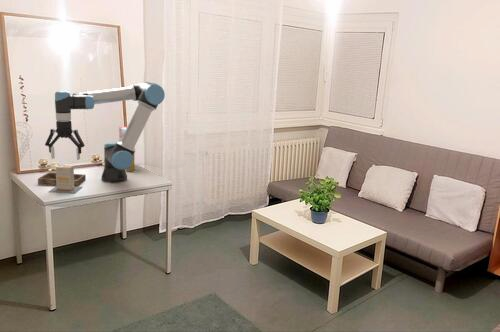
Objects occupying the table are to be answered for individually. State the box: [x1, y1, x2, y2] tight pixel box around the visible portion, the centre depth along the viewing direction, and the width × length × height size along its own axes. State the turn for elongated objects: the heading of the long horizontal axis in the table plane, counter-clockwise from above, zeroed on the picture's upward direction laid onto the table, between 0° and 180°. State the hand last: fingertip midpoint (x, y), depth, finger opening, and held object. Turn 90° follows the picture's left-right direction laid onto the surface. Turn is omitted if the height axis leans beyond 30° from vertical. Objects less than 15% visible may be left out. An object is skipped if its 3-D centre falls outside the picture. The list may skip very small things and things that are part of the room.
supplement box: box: [55, 164, 75, 191], centre depth 235 cm, size 8×5×13 cm, turn 85°
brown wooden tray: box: [37, 172, 87, 187], centre depth 250 cm, size 22×14×4 cm, turn 93°
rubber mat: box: [48, 185, 83, 195], centre depth 237 cm, size 14×12×1 cm
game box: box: [118, 126, 136, 172], centre depth 290 cm, size 21×6×27 cm, turn 30°
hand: (65, 159), depth 233 cm, fingers open, 13 cm apart
